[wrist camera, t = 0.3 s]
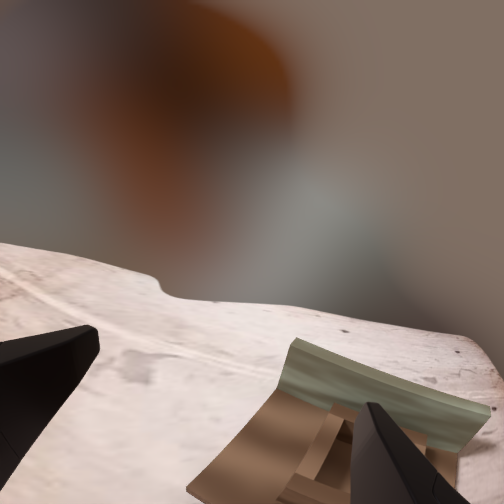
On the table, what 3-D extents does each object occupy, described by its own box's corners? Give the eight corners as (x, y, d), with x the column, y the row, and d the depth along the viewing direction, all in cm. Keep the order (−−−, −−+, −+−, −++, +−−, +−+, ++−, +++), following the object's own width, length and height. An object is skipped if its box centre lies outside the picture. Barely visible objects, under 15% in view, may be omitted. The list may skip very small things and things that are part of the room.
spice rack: (426, 574, 6) (488, 548, 4) (186, 491, 16) (184, 454, 13) (451, 449, 20) (489, 406, 17) (280, 387, 29) (296, 337, 27)
